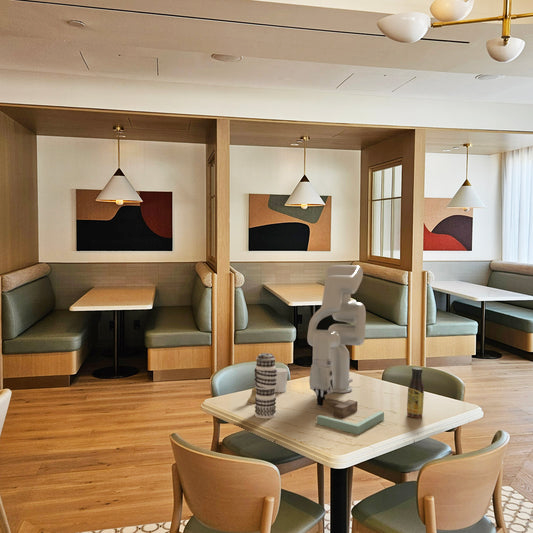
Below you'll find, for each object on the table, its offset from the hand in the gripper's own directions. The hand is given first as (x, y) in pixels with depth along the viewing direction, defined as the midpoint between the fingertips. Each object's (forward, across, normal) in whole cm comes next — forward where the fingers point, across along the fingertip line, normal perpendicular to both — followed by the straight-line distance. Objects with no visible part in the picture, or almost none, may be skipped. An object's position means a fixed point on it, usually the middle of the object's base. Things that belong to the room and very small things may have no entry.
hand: (320, 404), depth 225 cm
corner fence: (+1, -19, +7) cm, 20 cm away
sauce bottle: (+1, -36, -16) cm, 39 cm away
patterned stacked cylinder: (+1, +12, +23) cm, 26 cm away
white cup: (+1, +29, -9) cm, 31 cm away
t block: (+1, -8, 0) cm, 8 cm away
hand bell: (+1, +27, +10) cm, 29 cm away
